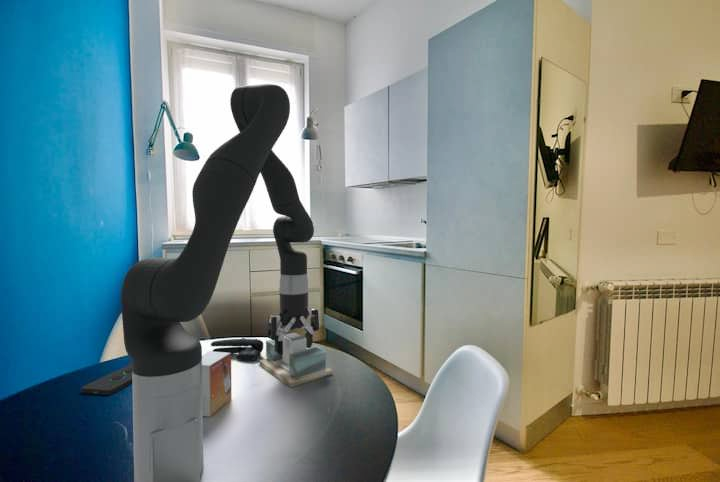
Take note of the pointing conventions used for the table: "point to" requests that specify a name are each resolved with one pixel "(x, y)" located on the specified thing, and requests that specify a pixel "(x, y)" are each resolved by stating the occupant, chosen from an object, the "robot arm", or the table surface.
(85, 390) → the smart home device
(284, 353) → the block
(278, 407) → the table surface
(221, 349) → the can opener
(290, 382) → the rail board
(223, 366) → the small box
